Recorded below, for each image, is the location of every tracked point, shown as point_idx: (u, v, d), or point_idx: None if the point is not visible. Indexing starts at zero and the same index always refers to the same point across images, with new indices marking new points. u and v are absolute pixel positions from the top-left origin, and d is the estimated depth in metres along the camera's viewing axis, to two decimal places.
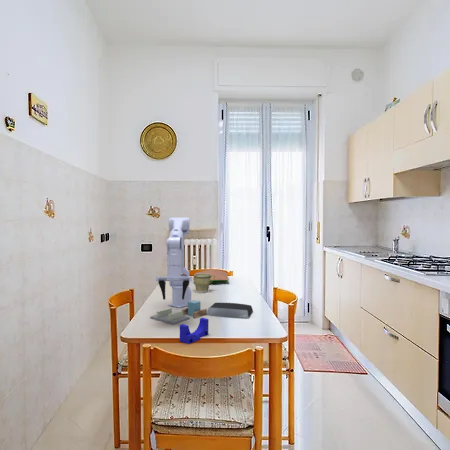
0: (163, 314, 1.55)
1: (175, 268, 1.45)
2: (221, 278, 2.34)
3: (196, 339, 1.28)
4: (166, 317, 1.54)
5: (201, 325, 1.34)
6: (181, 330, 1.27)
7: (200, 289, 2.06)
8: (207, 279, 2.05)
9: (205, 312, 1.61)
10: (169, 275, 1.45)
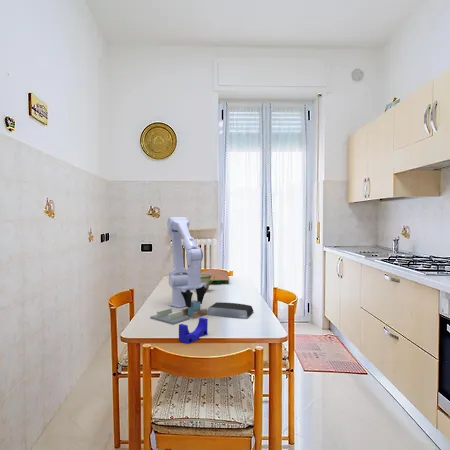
0: (163, 314, 1.55)
1: (199, 278, 1.59)
2: (222, 278, 2.34)
3: (195, 339, 1.28)
4: (166, 317, 1.54)
5: (200, 325, 1.34)
6: (180, 330, 1.27)
7: None
8: (207, 279, 2.05)
9: (205, 312, 1.61)
10: (195, 285, 1.58)
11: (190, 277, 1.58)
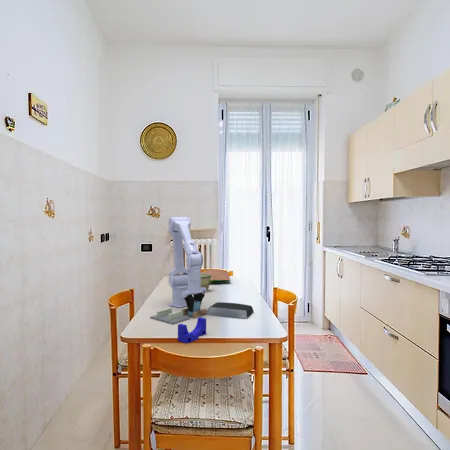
0: (163, 314, 1.55)
1: (199, 283, 1.59)
2: (223, 278, 2.34)
3: (194, 338, 1.28)
4: (166, 317, 1.54)
5: (199, 325, 1.35)
6: (179, 330, 1.27)
7: None
8: (207, 279, 2.05)
9: (205, 312, 1.61)
10: (195, 290, 1.58)
11: (190, 282, 1.58)
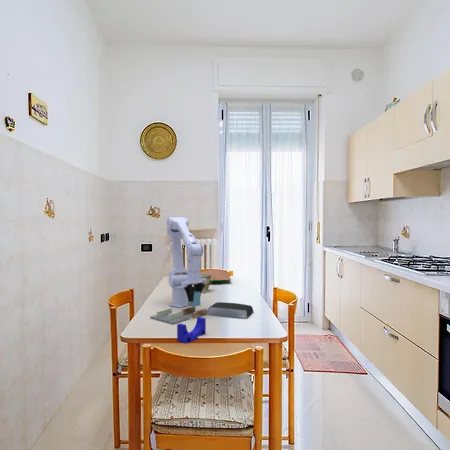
0: (163, 314, 1.55)
1: (199, 273, 1.59)
2: (223, 278, 2.34)
3: (193, 338, 1.28)
4: (166, 317, 1.54)
5: (198, 324, 1.35)
6: (179, 329, 1.27)
7: None
8: (207, 279, 2.05)
9: (205, 312, 1.61)
10: (195, 280, 1.58)
11: (190, 272, 1.58)
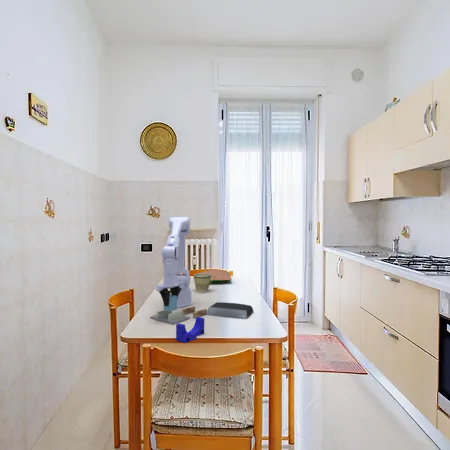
0: (163, 314, 1.55)
1: (175, 276, 1.53)
2: (224, 278, 2.34)
3: (192, 338, 1.29)
4: (166, 317, 1.54)
5: (197, 324, 1.35)
6: (178, 329, 1.28)
7: (200, 289, 2.06)
8: (207, 279, 2.05)
9: (205, 312, 1.61)
10: (171, 283, 1.51)
11: (165, 275, 1.52)
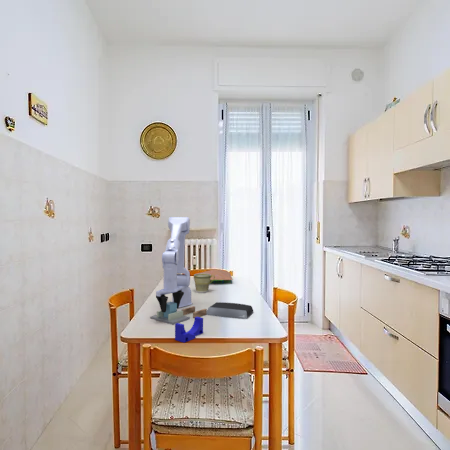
0: (163, 314, 1.55)
1: (175, 281, 1.53)
2: (225, 278, 2.34)
3: (191, 338, 1.29)
4: None
5: (196, 324, 1.36)
6: (176, 329, 1.28)
7: (200, 289, 2.06)
8: (207, 279, 2.05)
9: (205, 312, 1.61)
10: (171, 289, 1.51)
11: (165, 281, 1.52)
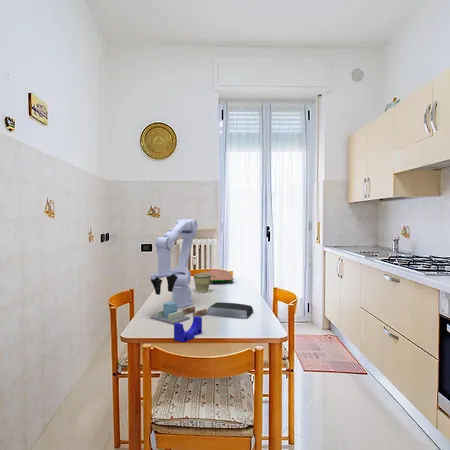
0: (163, 314, 1.55)
1: (169, 266, 1.61)
2: (226, 278, 2.35)
3: (190, 337, 1.29)
4: None
5: (195, 324, 1.36)
6: (175, 328, 1.28)
7: (200, 289, 2.06)
8: (207, 279, 2.05)
9: (205, 312, 1.61)
10: (165, 272, 1.59)
11: (160, 265, 1.60)
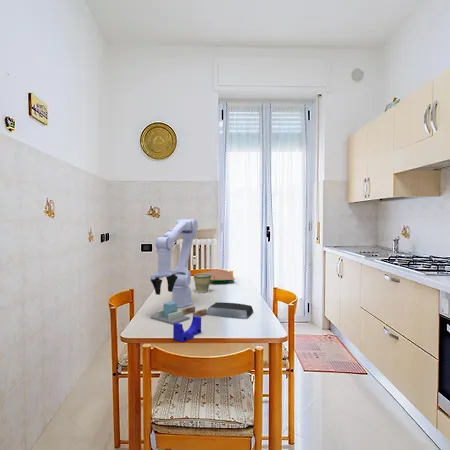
0: (163, 314, 1.55)
1: (169, 266, 1.61)
2: (227, 278, 2.35)
3: (190, 337, 1.30)
4: None
5: (194, 324, 1.36)
6: (175, 328, 1.28)
7: (200, 289, 2.06)
8: (207, 279, 2.05)
9: (205, 312, 1.61)
10: (165, 272, 1.59)
11: (160, 265, 1.60)
